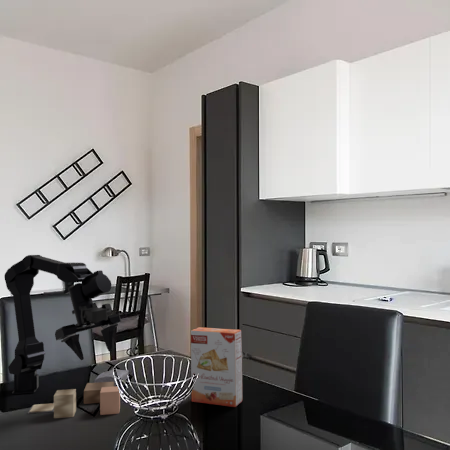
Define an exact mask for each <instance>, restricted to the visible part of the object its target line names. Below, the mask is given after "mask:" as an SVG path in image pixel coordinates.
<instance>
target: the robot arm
mask: <svg viewBox="0 0 450 450" xmlns="http://www.w3.org/2000/svg"><path fill="white" fill-rule="evenodd" d="M40 271H41V272H44V273H49V274H51V275H55V276H56V277H57V279H58V280H60V281H62V282H63V283H66V284H67V285H66V287H65V289H64V290H63V294H64V295H66V294H67V295H68V294H69V297H70V301H71V304H72V308H73V309H72V310H71V313H72V315H74V316H75V321H76V323H72V324H68V325H64V326H62V327H60V328H58V329H56V330H55V332H54V337H55V340H56V341H60V342H61V343H65V344H66V345H67V346H68V347H69V348H70V349H71V351H73V353H74V354H75V355H76V356H77V358H78V359H79V360H80V361H84V359H85V358H84V354H83V353H84V352H83V350H82V346H81V343H80V333H82V332H85V331H88V330H89V331H90V330H92V329H93V330H94V329H97V328H102V329H101V330H100V332H101V335H102V338H103V340H104V344H105V346H106V349H107V351H108V352H112V350H113V338H114V331H115V329H116V327H118V326H119V323H122V319H121V316H120V315H119V314H117V313H114V314H113V308H112V305H111V303H104V304H103V303H102V304H101V306H100V307H98V305H97V303H96V302H94V301H93V299H95V298H98V297H100V296H102V295H104V294H107V293H109V292H110V291H111V289H112V281H111V280H110V278H109V277H108V276H107V275H106V274H104V272H103V270H102V269H101V270H100V269H99V270H96V271H93V272H92V271H91V270H90V269H89V268H88V267H87V264H86V263H85V262H63V261H59V260H58V259H57V260H56V259H53V258H49V257H45V256H42V255H40V254H28V255H26V256H25V257H24V258H22V259H21V260H20V261H18V262H16V263H14V264H13V265H11V266H10V267H9V268H7V270H6V272H5V273H4V281H5V286H6V289H7V290H8V292H10V294H11V295H12V296H13V304H14V305H13V306H14V311H15V313H14V314H15V320H16V328H17V329H16V330H17V336H18V342H17V344H16V347H15V349H14V358H13V360H12V361H11V363H10V364H9V365H8V367H7V369H8V373H9V374H10V375H13V391H12V392H11V393H12V395H20V394H21V395H22V394H34V393H35V392H36V391H37V389H38V388H39V385H40V384H39V377H40V376H39V374H38V373H37V371H38V370H41V369H42V366H43V363H44V360H45V355H46V352H45V347H44V345H45V344H44V341H40V340H38V339H37V337H36V330H35V323H34V315H33V308H32V300H31V291H32V289H33V287H34V284H35V282H34V281H35V280H34V278H35V277H37V275H38V274H39V273H40ZM71 283H72V284H71Z"/></svg>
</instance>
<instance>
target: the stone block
mask: <svg viewBox="0 0 450 450" xmlns="http://www.w3.org/2000/svg"><path fill="white" fill-rule="evenodd" d="M113 370H114V369H109V371H108V370H106V371H104V372H101V373H99V374H98V376H97V377H95V378H94V380H93V383H99V382H114V387H115V386H116V383H115V381H114V377H113ZM115 370H116V371H117V375H118V376H119V377H120V378H121V379H123V380H126V379H127V375H130V374H129V369H125V370H124V369H115Z"/></svg>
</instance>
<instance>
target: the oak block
mask: <svg viewBox="0 0 450 450" xmlns="http://www.w3.org/2000/svg"><path fill="white" fill-rule="evenodd" d="M53 403H54V411H53V419H62V418H73V417H75V414H76V412H77V389H76V388H70V389H57V390H56V391H55V393H54V395H53Z"/></svg>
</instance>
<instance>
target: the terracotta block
mask: <svg viewBox="0 0 450 450" xmlns="http://www.w3.org/2000/svg"><path fill="white" fill-rule="evenodd" d="M99 408H100V410H99V411H100V412H99V414H100V416H102V415H103V416H105V415H116V414H119V415H120V411H121V410H120V409H121V392H120V393H119V390H118V387H117V386H115V387H102V388H101V391H100V403H99Z"/></svg>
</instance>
